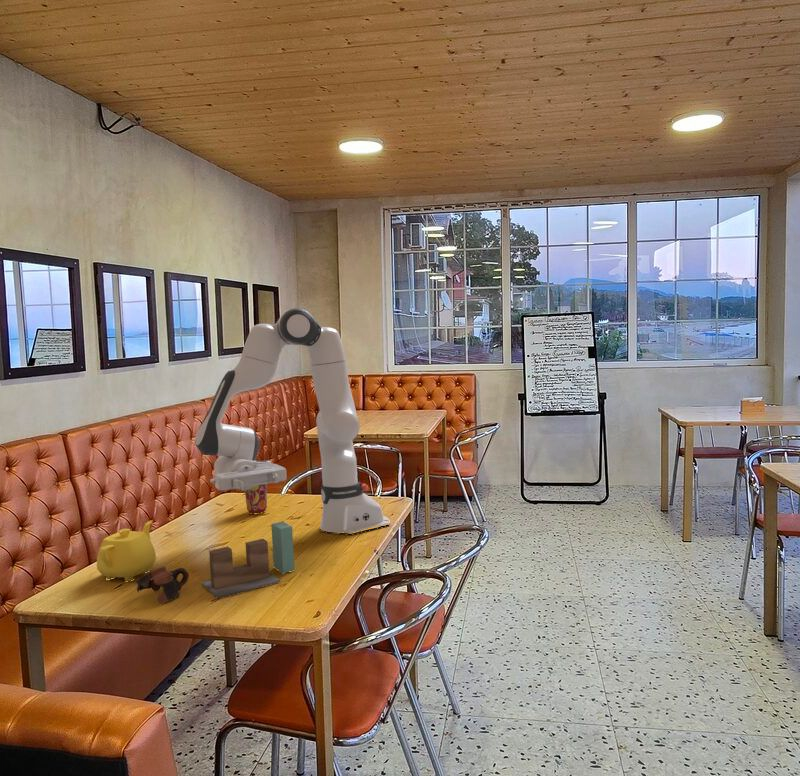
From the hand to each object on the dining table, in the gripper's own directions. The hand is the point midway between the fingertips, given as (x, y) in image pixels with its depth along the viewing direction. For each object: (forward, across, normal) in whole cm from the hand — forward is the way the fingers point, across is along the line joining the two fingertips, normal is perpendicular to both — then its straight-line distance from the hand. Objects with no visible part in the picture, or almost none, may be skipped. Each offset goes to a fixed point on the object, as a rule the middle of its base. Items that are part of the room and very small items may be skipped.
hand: (261, 482), depth 180 cm
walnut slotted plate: (+14, -12, +22) cm, 28 cm away
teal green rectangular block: (+12, 0, +21) cm, 25 cm away
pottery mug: (+10, -30, +22) cm, 38 cm away
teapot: (-12, -33, +22) cm, 42 cm away
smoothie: (-48, +17, +22) cm, 55 cm away
